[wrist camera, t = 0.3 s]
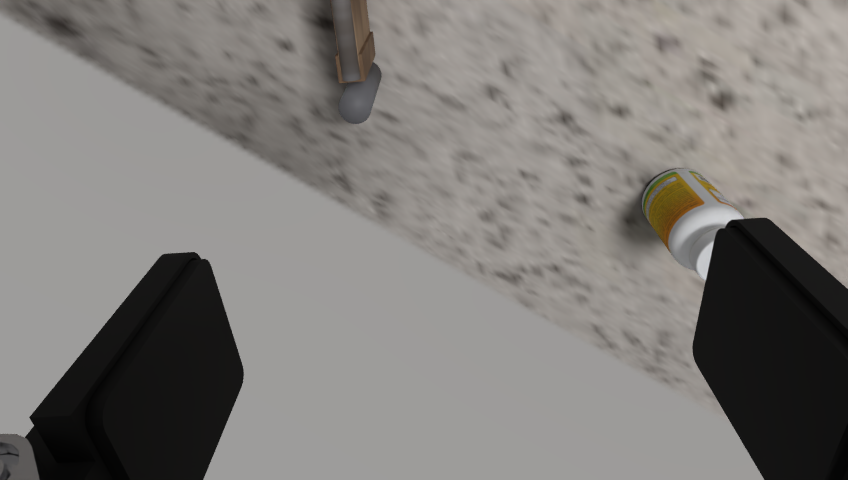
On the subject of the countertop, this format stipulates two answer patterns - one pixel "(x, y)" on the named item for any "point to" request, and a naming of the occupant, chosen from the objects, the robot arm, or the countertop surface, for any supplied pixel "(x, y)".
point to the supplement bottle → (687, 216)
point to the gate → (352, 40)
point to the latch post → (360, 97)
